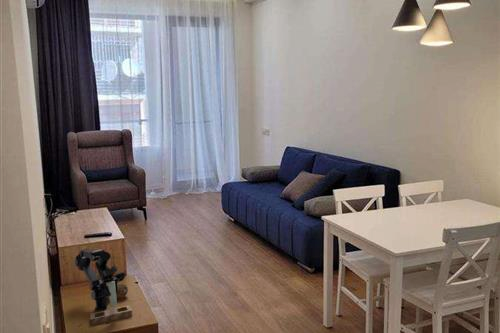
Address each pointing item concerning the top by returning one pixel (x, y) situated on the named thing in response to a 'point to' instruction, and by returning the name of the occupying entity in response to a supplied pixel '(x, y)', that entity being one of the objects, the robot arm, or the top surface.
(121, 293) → the tin
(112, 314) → the brown slotted board
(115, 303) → the post
